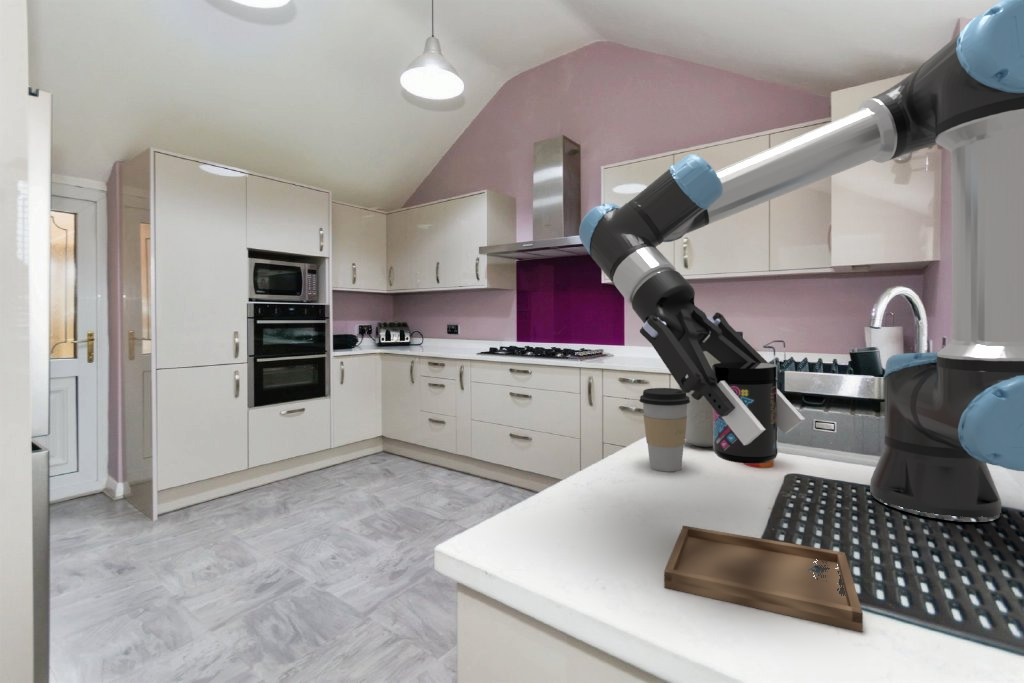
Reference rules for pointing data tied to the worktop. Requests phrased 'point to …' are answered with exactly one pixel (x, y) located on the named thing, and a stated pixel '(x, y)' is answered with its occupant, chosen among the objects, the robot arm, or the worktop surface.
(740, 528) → the worktop surface
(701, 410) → the glass bottle
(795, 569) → the tray
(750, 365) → the supplement container
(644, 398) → the coffee cup
